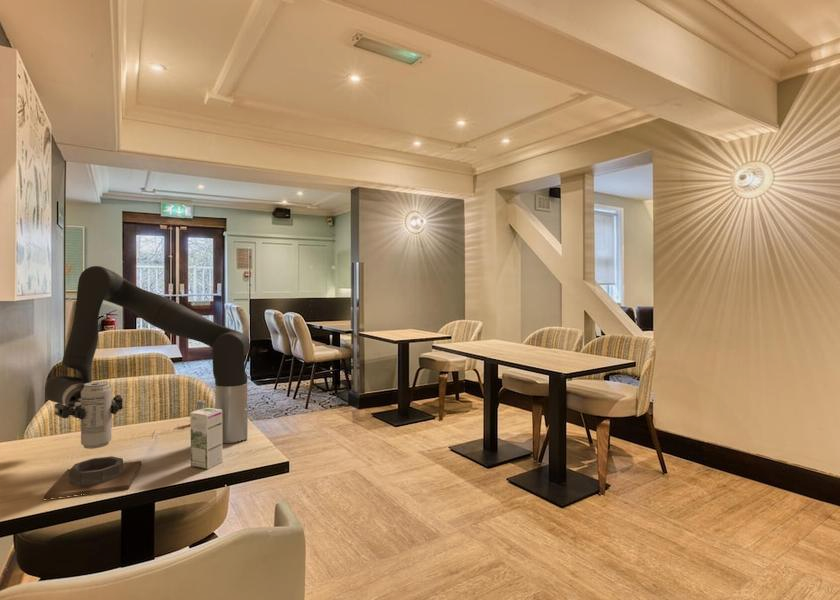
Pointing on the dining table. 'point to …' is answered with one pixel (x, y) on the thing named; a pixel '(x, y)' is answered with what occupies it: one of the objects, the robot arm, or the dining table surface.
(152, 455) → the dining table surface
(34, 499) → the dining table surface
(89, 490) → the can holder
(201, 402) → the rook chess piece
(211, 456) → the syrup box
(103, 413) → the energy drink can
